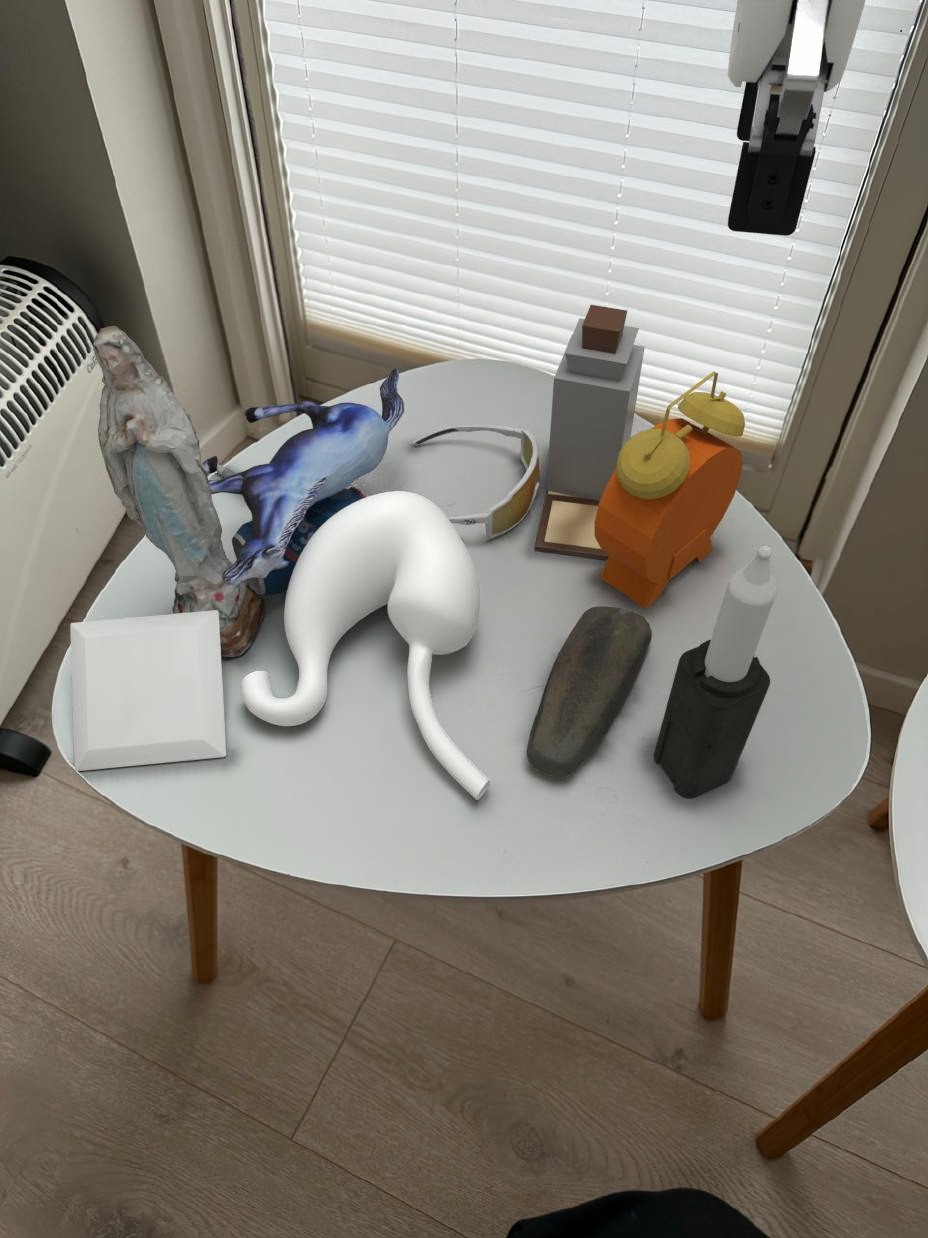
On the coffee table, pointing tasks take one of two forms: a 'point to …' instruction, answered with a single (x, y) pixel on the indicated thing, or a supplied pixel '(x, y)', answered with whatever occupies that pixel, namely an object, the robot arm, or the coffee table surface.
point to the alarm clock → (669, 495)
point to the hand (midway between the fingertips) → (762, 182)
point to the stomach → (363, 582)
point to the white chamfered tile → (147, 690)
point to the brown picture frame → (569, 526)
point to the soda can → (296, 539)
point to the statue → (168, 487)
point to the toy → (305, 472)
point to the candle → (719, 688)
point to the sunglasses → (516, 500)
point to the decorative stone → (587, 688)
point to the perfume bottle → (593, 403)
